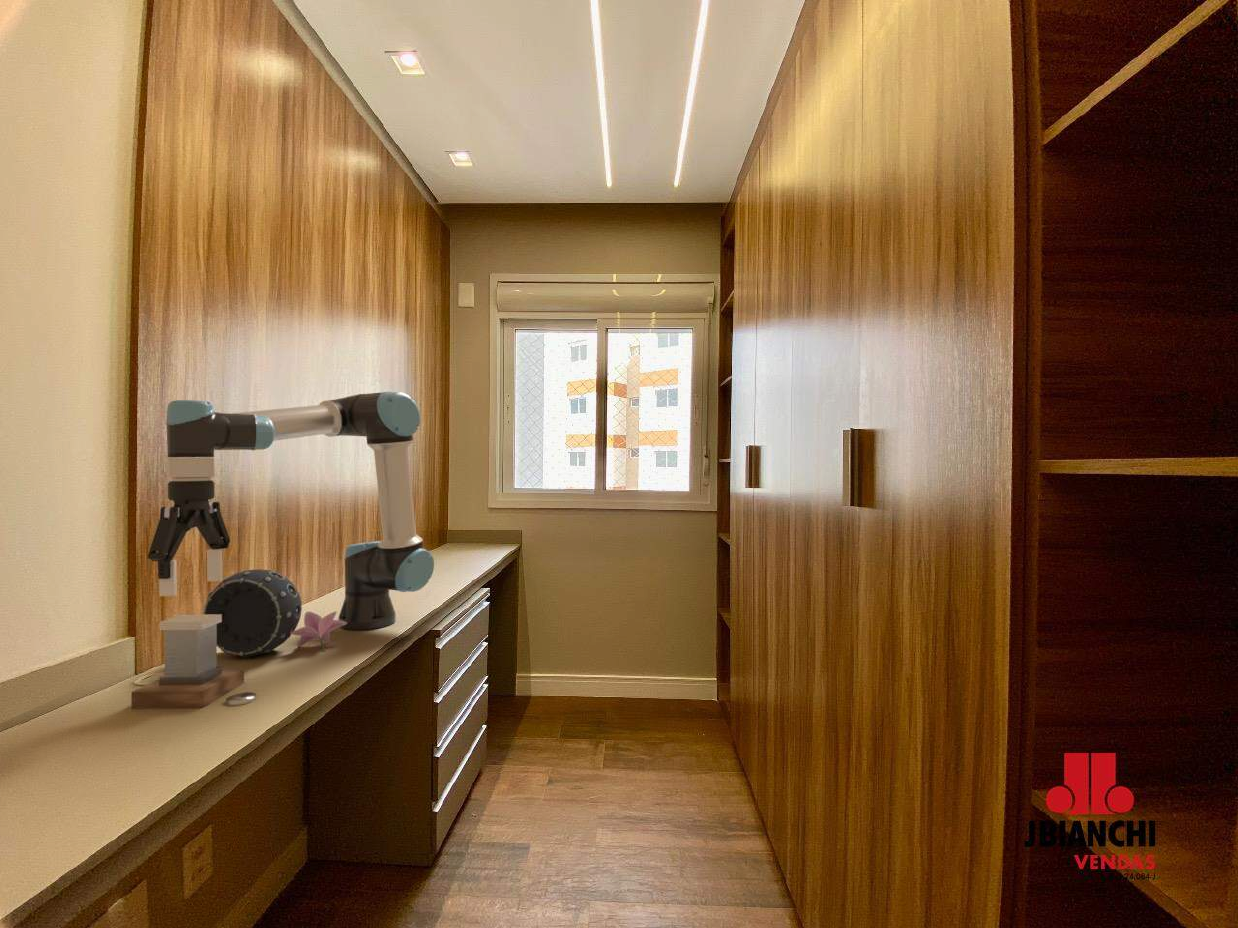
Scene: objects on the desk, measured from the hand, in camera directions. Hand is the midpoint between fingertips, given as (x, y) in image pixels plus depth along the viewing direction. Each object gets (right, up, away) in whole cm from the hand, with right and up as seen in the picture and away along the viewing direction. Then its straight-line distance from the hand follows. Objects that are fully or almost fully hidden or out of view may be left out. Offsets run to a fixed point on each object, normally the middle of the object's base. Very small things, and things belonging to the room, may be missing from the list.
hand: (192, 587), depth 120 cm
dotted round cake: (-3, -21, +26) cm, 33 cm away
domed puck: (+11, -21, -3) cm, 24 cm away
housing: (0, -18, 0) cm, 18 cm away
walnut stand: (0, -21, 0) cm, 21 cm away
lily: (+10, -21, +31) cm, 38 cm away
